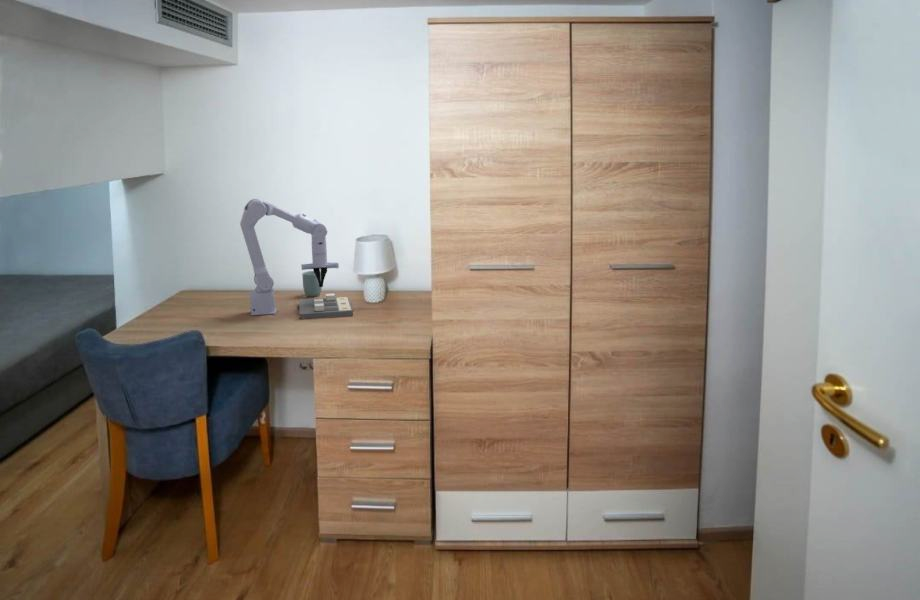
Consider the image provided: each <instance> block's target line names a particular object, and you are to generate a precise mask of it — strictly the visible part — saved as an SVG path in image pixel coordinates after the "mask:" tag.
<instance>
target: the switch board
mask: <svg viewBox="0 0 920 600" xmlns="http://www.w3.org/2000/svg"><path fill="white" fill-rule="evenodd" d="M314 299H315V298H301V299H298V303H299V304H298V306H299V307H298V308H299V309H298V310H299V319H300V320H302V319H301V318H310V319H322V318H323V319H324V318H337V317H338V318H339V317H341V318H342V317H353V316H354V311H353V307H352V305H351V300H350V298H349V296H338V297H337V296H335V300H330V301H326V297H320V298H316V299H323V303H324V311H315V306H314Z"/></svg>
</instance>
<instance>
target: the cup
mask: <svg viewBox="0 0 920 600" xmlns="http://www.w3.org/2000/svg"><path fill="white" fill-rule="evenodd" d="M301 275H302V287H303V293H304V295H305V296H307V297H309V298H310V297H312V298H314V297H318V296H320V294H321V293H322V290H323V287H319V282H318V279H317V277H316V275H315V273H314V270H309V271H304V272H302V274H301ZM320 280H321V271H320Z"/></svg>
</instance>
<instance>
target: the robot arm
mask: <svg viewBox="0 0 920 600" xmlns="http://www.w3.org/2000/svg"><path fill="white" fill-rule="evenodd" d="M265 216H267V217H268V216H275V217H277V218H280V219H283V220H285V221H287V222H290V223H292V226H293V228H294V229H297V230H299V231H302V232H303V233H306V234H310V235H311V255H312V256H311V260H312V263H305V264H304V263H303V264H301V271H305V270H312V271H314V273H315V275H316V277H317V279H318V282H319V287H322V288H323V287H324V280H325V277H326V276H327V275H326V274H327V272H328V269H339V265H340V264H339V262H328V255H327V252H328V251H327V241H326V240H327V237H326V236H327V235H328V229H327V227H326V225H324V224H322V223H321V222H320V221H317V220H316V219H312V218H309V217H307V214H305V213H302V214H301V213H298V214H293V213H290V212H289V211H287V210H285V209H283V208H281V207H279V206H277V205H275V204H273V203H269V202H267V201H264V200H262V201H261V200H260V199H258V198H252V199H250V200H249V201H248V202H247V203H246V205H245V206H244V209H243V213H242V216H241V220H240V222H239V223H240V228H241V232H242V235H243V238H244V241H245V245H246V248H247V251H248V255H249V257H250V261H251V265H252V268H253V274H254V278H253V282H254V284H255V285H256V287H255V288H254V290H250V291H249V301H250V305H249V311H250V315H251V316H259V315H260V316H261V315H275V314H277V307H276V303H275V302H276V301H275V289H274V284H275V282H274V280H273V278H272V277H271V276H270V274H269V271H268V268H267V266H266V263H265V259H264V255H263V254H262V249H261V246H260V243H259V240H258V236H257V234H256V229H255V226H256V225H257V223H258V221H259V220H260V219H262V218H263V217H265ZM320 272H321V280H320Z"/></svg>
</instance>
